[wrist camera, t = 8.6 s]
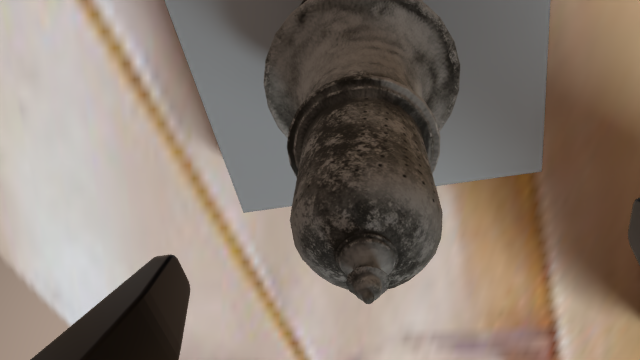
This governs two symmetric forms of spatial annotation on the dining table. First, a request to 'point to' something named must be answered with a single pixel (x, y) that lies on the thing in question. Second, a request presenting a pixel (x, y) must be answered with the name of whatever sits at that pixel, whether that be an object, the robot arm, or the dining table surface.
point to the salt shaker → (363, 135)
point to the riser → (455, 136)
